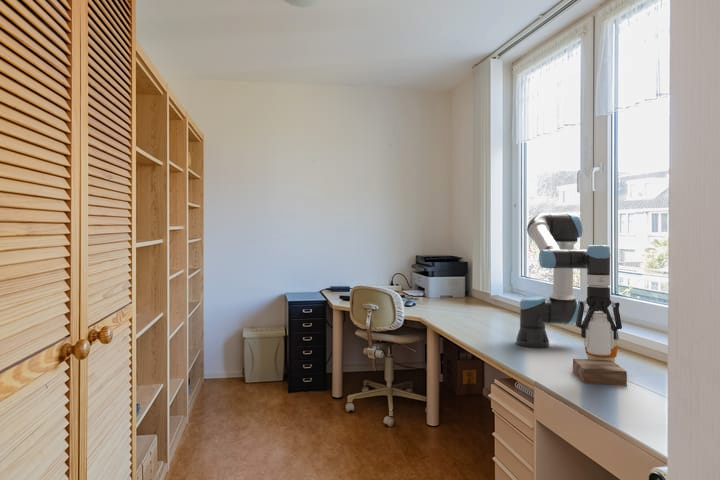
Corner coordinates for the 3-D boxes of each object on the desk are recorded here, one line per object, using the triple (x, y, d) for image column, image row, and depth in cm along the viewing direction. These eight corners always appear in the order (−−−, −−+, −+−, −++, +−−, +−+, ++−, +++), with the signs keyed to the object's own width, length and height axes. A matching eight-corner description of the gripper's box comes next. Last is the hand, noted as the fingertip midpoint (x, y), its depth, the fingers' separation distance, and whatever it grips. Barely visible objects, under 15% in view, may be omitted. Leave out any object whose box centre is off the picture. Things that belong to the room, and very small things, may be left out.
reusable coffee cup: (606, 373, 166) (606, 334, 166) (576, 364, 177) (576, 328, 177) (625, 368, 172) (625, 331, 172) (595, 360, 183) (595, 325, 183)
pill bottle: (608, 351, 162) (608, 311, 162) (613, 356, 155) (613, 315, 155) (584, 349, 165) (584, 310, 165) (588, 354, 157) (588, 314, 158)
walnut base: (572, 371, 168) (572, 358, 168) (611, 373, 166) (611, 360, 166) (584, 383, 155) (584, 369, 155) (626, 385, 152) (626, 371, 152)
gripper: (571, 286, 158) (571, 348, 158) (633, 287, 154) (633, 351, 154) (566, 284, 166) (566, 343, 166) (624, 285, 162) (624, 346, 162)
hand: (598, 347), depth 160 cm, fingers closed on pill bottle, 8 cm apart
